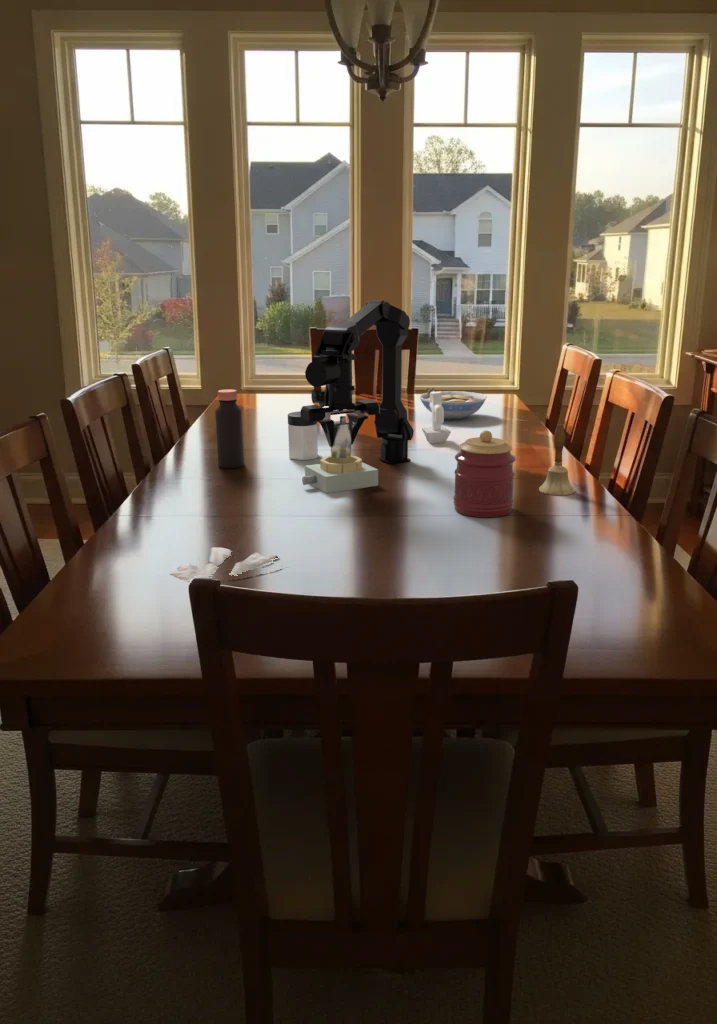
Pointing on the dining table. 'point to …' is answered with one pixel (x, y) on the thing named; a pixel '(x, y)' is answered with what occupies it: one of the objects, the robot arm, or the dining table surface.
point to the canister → (484, 477)
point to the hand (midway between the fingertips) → (341, 445)
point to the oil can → (341, 439)
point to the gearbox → (340, 474)
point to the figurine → (436, 421)
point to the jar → (302, 437)
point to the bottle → (229, 430)
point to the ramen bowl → (456, 403)
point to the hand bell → (557, 469)
